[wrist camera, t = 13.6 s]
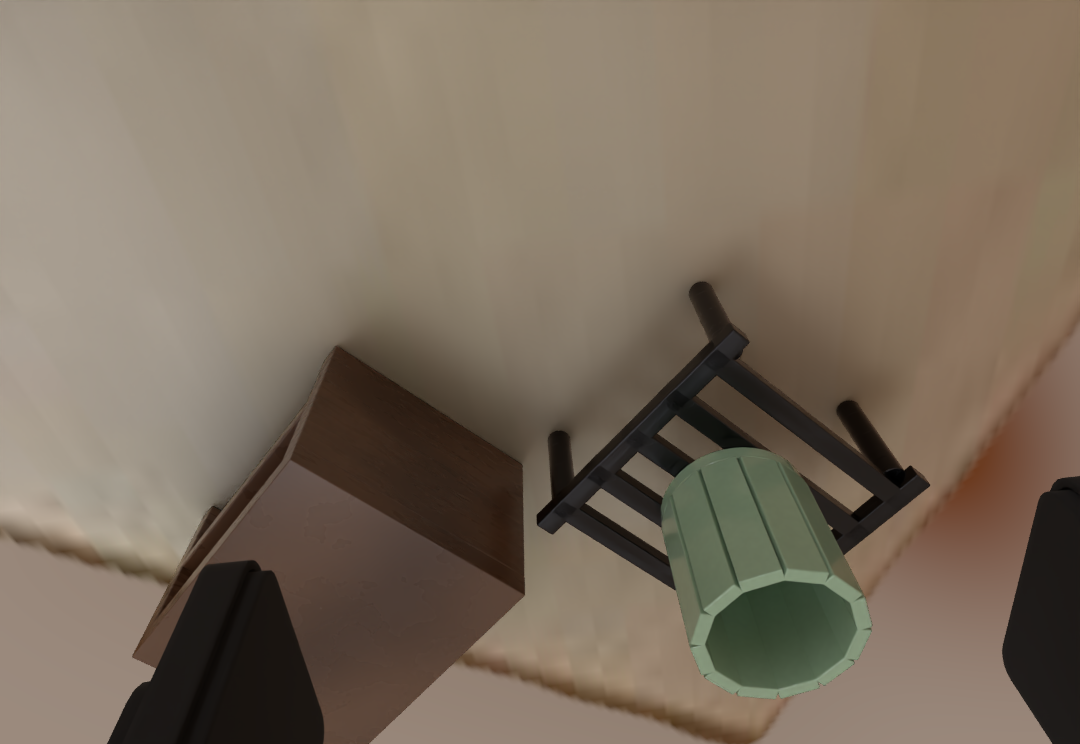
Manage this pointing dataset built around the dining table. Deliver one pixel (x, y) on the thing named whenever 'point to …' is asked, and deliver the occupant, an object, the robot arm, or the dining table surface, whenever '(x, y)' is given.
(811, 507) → the cup
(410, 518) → the shelf
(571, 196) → the dining table surface
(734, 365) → the rack
